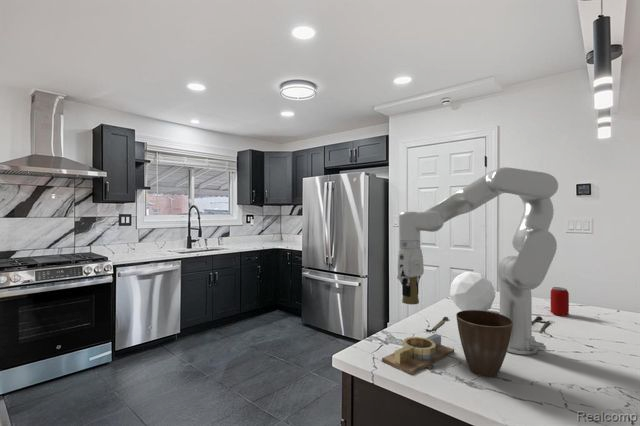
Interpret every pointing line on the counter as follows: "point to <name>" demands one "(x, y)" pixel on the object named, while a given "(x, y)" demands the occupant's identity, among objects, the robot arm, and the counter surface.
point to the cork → (412, 292)
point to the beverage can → (559, 301)
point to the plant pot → (484, 340)
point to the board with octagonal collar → (417, 365)
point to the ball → (472, 292)
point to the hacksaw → (543, 325)
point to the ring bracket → (418, 349)
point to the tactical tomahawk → (437, 325)
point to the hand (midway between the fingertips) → (410, 294)
